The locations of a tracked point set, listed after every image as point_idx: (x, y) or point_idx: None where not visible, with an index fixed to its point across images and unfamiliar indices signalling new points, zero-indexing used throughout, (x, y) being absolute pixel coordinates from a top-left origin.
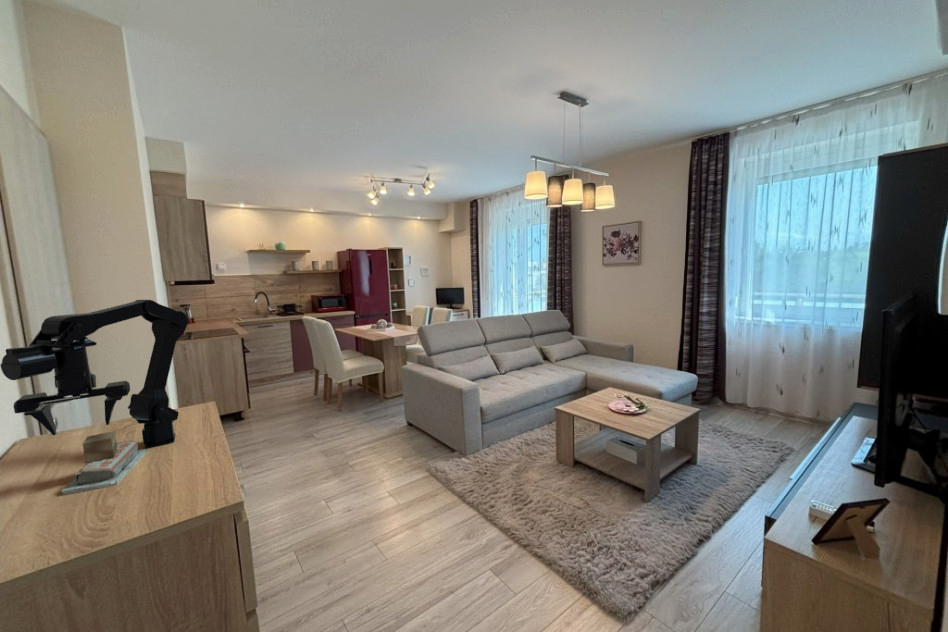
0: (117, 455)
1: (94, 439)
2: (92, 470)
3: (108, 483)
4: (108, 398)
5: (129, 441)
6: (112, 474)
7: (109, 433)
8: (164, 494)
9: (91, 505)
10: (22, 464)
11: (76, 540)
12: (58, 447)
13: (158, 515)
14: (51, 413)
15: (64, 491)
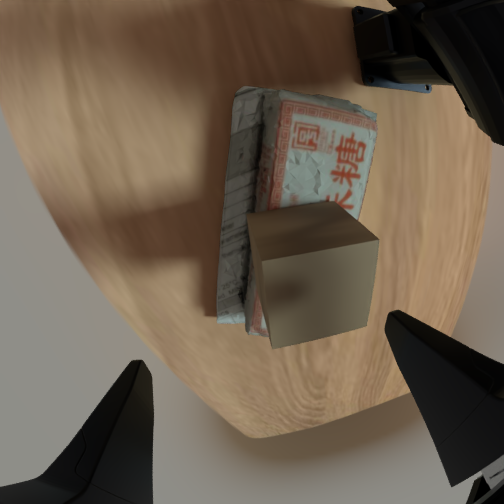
0: None
1: (309, 321)
2: None
3: None
4: (482, 469)
5: (357, 118)
6: None
7: (360, 267)
8: (385, 363)
9: (292, 367)
10: (9, 50)
11: (294, 418)
12: None
13: (370, 396)
14: (94, 480)
15: (223, 322)
